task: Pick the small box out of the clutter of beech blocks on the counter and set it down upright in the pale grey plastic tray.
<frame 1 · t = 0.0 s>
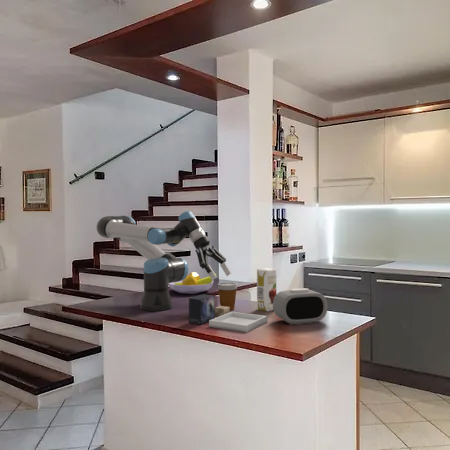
hand: (221, 276, 208), 15 cm above the countertop, tool tilted 35°, fingers open, 13 cm apart
tray: (238, 324, 179), on the countertop
juice carton: (266, 309, 206), on the countertop
fruit bowl: (192, 292, 254), on the countertop
small box: (201, 321, 184), on the countertop
beech cube: (222, 317, 191), on the countertop
disposable coffee cup: (227, 310, 206), on the countertop
alarm clock: (300, 322, 183), on the countertop
beech post: (197, 315, 196), on the countertop
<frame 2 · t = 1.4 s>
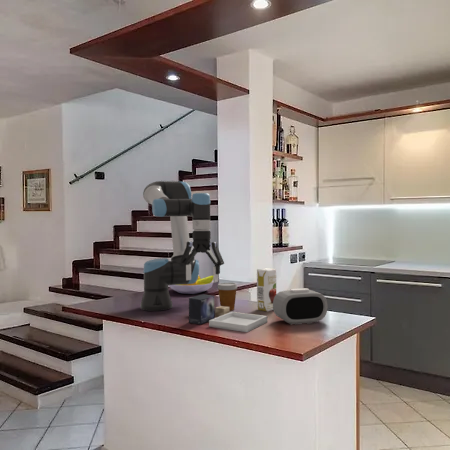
hand: (202, 281, 184), 17 cm above the countertop, tool pointing down, fingers open, 13 cm apart
nothing on the countertop moved.
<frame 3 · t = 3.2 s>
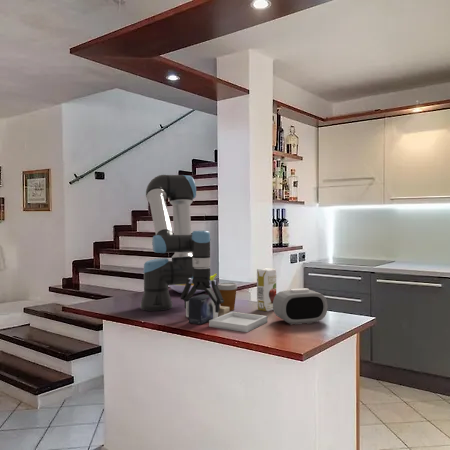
hand: (201, 318, 184), 1 cm above the countertop, tool pointing down, fingers open, 13 cm apart
nothing on the countertop moved.
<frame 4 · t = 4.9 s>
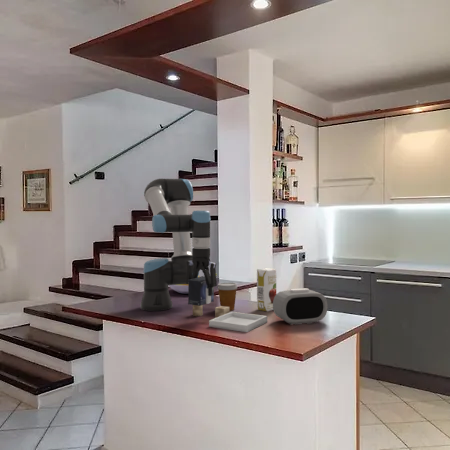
hand: (201, 302, 185), 8 cm above the countertop, tool pointing down, fingers closed on small box, 6 cm apart
small box: (201, 303, 185), point 7 cm above the countertop, touching gripper
everything else where it was.
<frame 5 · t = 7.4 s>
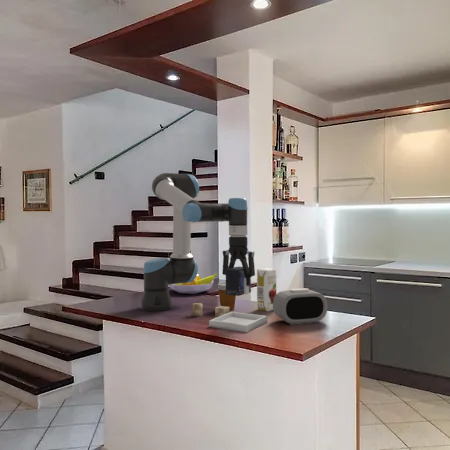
hand: (238, 292, 178), 13 cm above the countertop, tool pointing down, fingers closed on small box, 6 cm apart
small box: (238, 294, 178), point 12 cm above the countertop, touching gripper
everything else where it was.
when the fingers open (2 cm above the countertop, at t = 9.9 s): small box drops 1 cm, resting on tray.
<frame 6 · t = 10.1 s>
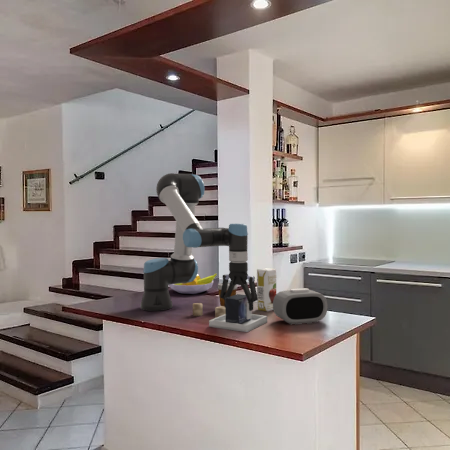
hand: (238, 317, 179), 3 cm above the countertop, tool pointing down, fingers open, 9 cm apart
small box: (238, 322, 179), point 1 cm above the countertop, touching tray
everything else where it was.
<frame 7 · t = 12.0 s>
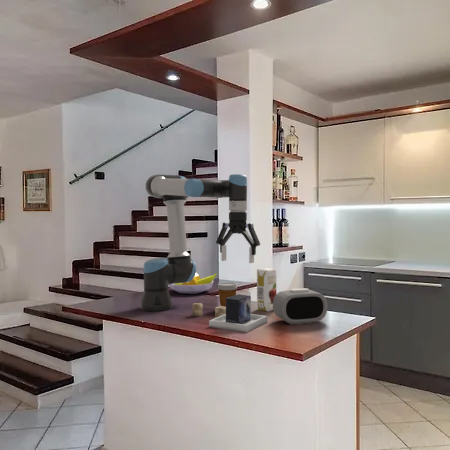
hand: (237, 261, 186), 25 cm above the countertop, tool pointing down, fingers open, 13 cm apart
nothing on the countertop moved.
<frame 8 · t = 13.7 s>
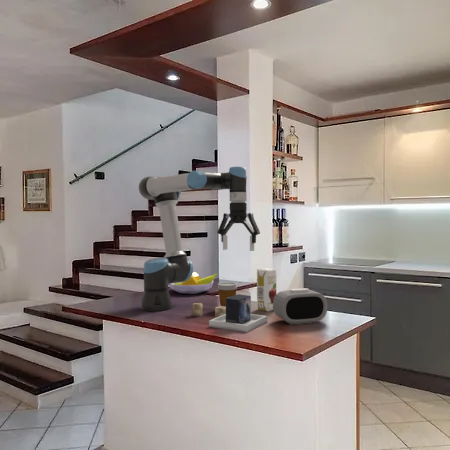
hand: (238, 250, 195), 29 cm above the countertop, tool pointing down, fingers open, 13 cm apart
nothing on the countertop moved.
at the end: small box inside the target area on the tray (0.1 cm from its centre), point 0.6 cm above the tray's base; small box tilted 0°; the gripper is holding nothing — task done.
